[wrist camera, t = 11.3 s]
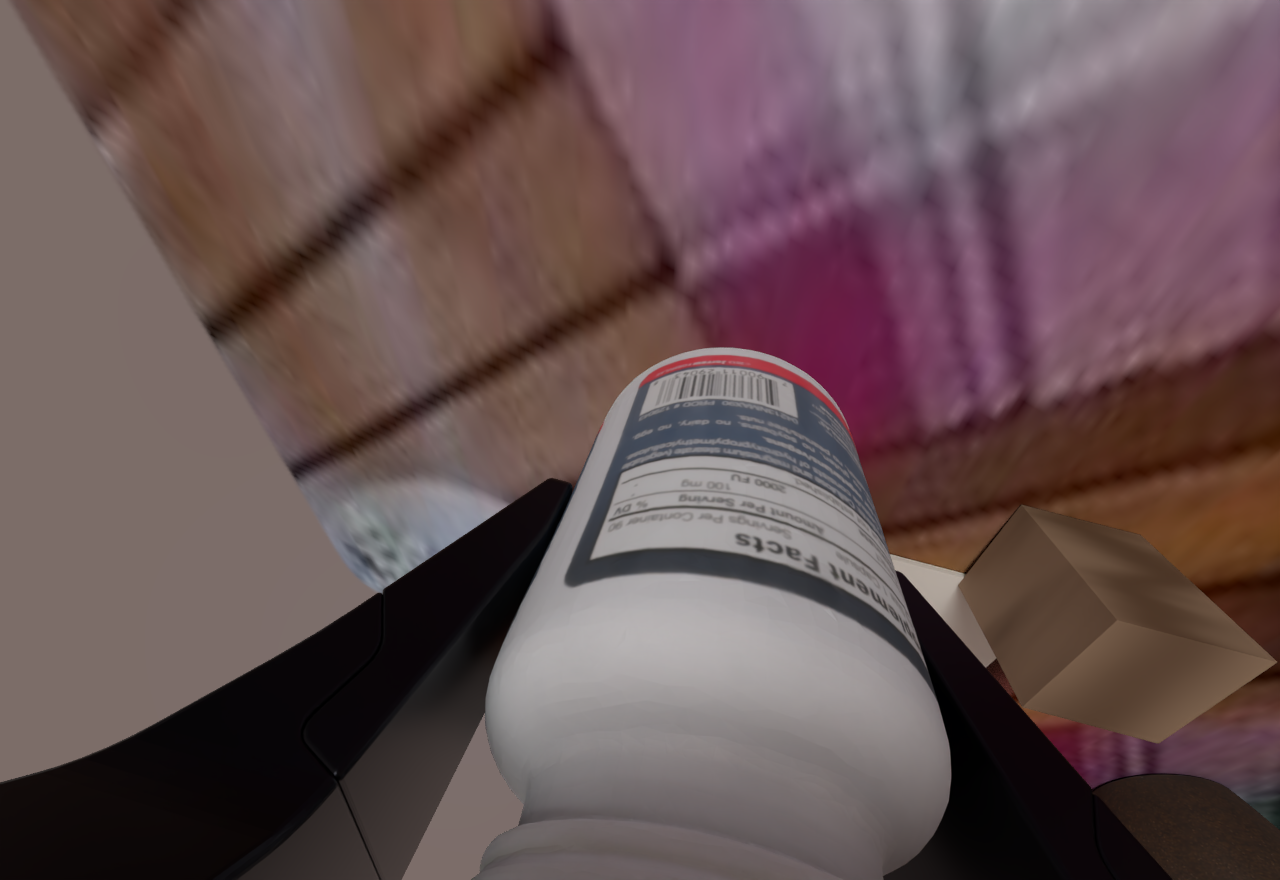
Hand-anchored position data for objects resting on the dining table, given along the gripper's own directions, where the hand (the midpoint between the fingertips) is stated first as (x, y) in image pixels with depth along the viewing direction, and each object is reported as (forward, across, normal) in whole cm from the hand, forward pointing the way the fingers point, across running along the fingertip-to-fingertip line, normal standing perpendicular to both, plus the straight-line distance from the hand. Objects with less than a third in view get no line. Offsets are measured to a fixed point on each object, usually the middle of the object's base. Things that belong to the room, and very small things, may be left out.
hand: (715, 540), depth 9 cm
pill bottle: (+3, 0, 0) cm, 3 cm away
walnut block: (+12, -16, +8) cm, 22 cm away
